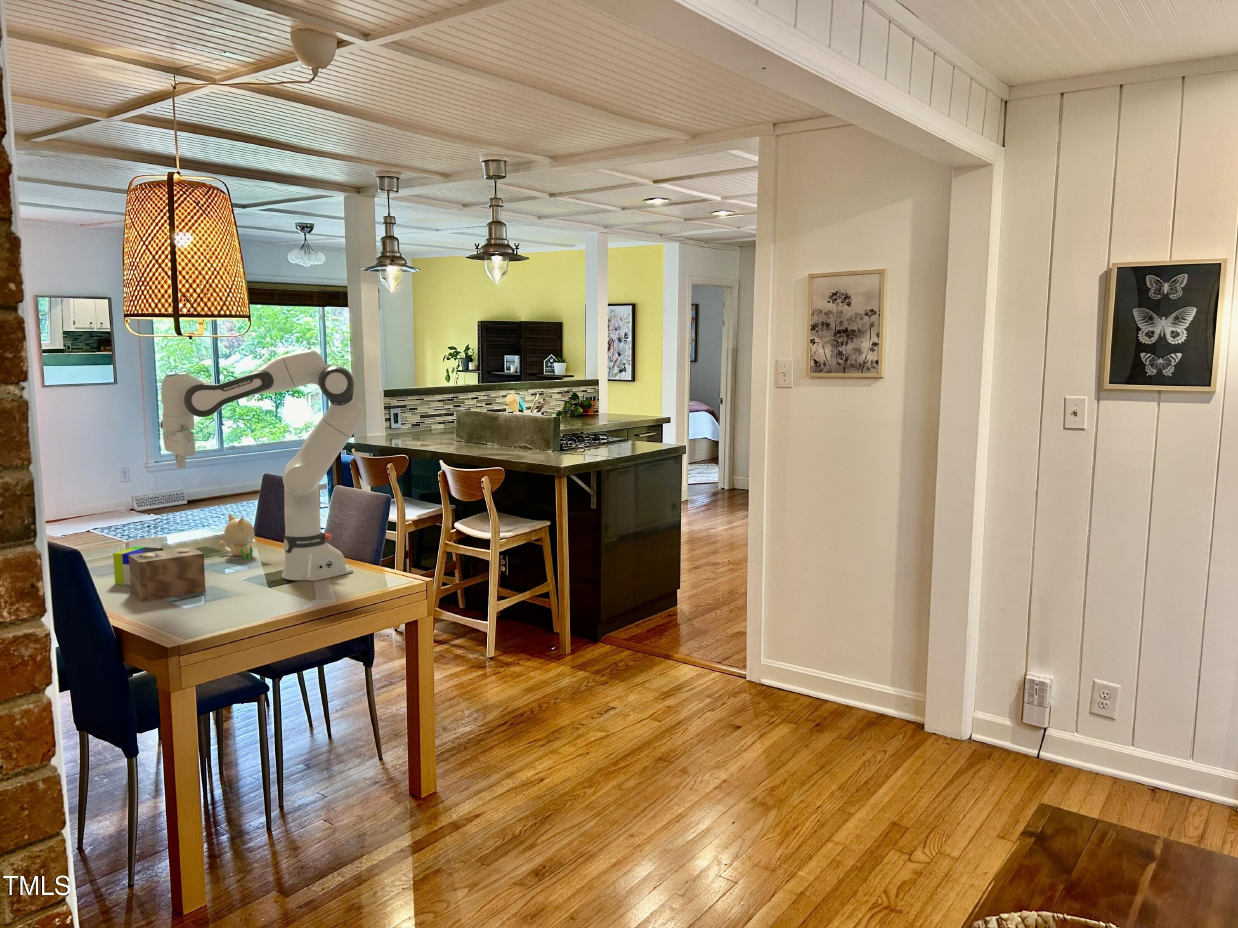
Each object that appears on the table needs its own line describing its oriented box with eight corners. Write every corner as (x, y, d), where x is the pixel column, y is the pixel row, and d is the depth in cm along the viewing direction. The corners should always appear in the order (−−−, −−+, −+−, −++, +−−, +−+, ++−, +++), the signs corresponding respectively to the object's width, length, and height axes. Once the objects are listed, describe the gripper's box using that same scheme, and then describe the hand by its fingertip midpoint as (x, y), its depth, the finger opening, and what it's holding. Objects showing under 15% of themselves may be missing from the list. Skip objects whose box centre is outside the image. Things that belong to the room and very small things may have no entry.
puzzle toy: (142, 585, 277) (140, 555, 276) (115, 583, 279) (113, 553, 278) (164, 578, 287) (162, 548, 286) (138, 576, 289) (136, 546, 288)
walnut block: (193, 583, 281) (191, 545, 279) (205, 591, 272) (203, 552, 271) (131, 593, 269) (128, 553, 267) (141, 601, 260) (139, 561, 259)
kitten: (264, 556, 318) (262, 515, 316) (237, 561, 310) (235, 519, 308) (245, 549, 328) (243, 510, 326) (218, 554, 320) (216, 514, 318)
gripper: (199, 426, 270) (202, 470, 272) (179, 421, 285) (181, 463, 287) (177, 427, 266) (180, 472, 268) (158, 422, 281) (160, 465, 283)
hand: (180, 467), depth 278 cm, fingers closed
